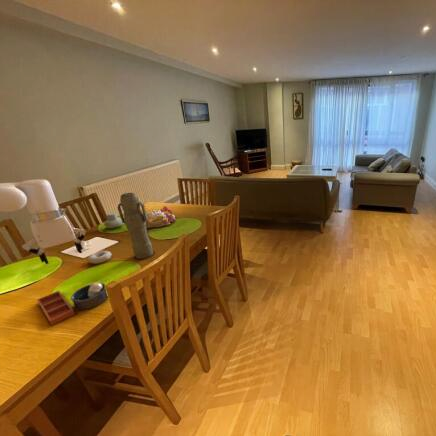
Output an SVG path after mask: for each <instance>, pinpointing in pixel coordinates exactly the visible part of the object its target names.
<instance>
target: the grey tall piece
mask: <svg viewBox="0 0 436 436" xmlns="http://www.w3.org/2000/svg"><path fill="white" fill-rule="evenodd" d="M119 200H120V201H119V203H118V204H117V210H118V214H119V218H120V219H121V220H122V223H123V224H124V225H125V227H126V229H127V230H128V233H129V237H130V240H131V243H132V246H131V247H132V251H133V254H134V256H135V259H137V260H145V259H148V258H150V257H152V256H153V255H154V250H153V244H152V241H151V240H150V238H149V234H148V230H147V228H146V222H145V221H146V220H147V219H148V218H147V211H146V210H147V209H146V206H145V203H143V201H139V198H138V196H137V195H136V193H135V192H125V193H122V194H121V195H120V199H119Z"/></svg>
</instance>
